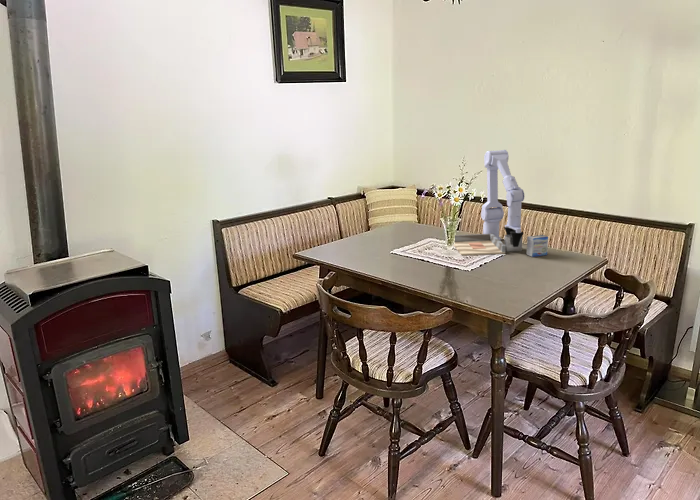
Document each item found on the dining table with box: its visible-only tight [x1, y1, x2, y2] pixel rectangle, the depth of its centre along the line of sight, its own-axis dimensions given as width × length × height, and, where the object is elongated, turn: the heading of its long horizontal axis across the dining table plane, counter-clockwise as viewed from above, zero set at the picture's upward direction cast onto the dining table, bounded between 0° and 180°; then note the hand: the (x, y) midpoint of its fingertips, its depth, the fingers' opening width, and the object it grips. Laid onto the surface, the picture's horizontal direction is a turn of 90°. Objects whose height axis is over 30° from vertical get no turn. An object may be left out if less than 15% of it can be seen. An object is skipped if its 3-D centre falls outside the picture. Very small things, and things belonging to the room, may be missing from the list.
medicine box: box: [526, 234, 549, 258], centre depth 241 cm, size 8×4×9 cm, turn 105°
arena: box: [453, 233, 506, 256], centre depth 256 cm, size 22×20×4 cm
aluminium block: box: [503, 234, 523, 253], centre depth 250 cm, size 4×7×7 cm, turn 91°
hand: (513, 244), depth 250 cm, fingers open, 7 cm apart
